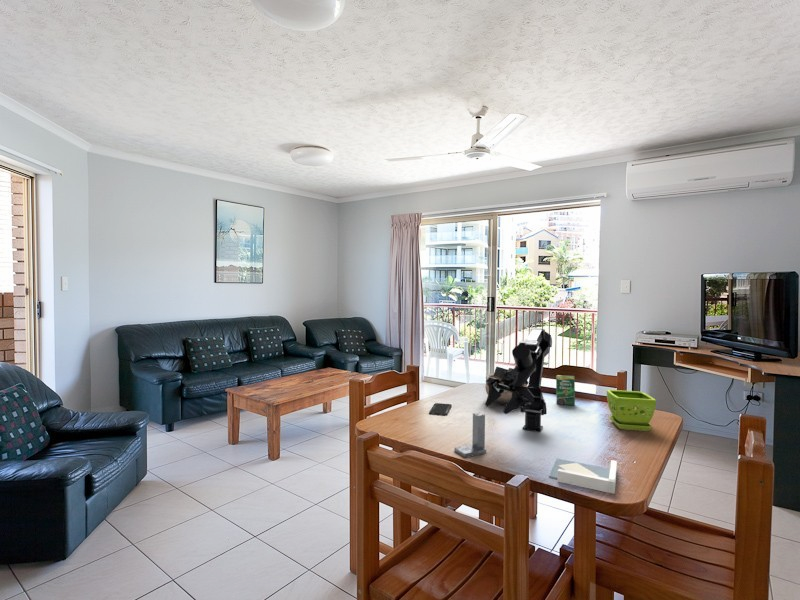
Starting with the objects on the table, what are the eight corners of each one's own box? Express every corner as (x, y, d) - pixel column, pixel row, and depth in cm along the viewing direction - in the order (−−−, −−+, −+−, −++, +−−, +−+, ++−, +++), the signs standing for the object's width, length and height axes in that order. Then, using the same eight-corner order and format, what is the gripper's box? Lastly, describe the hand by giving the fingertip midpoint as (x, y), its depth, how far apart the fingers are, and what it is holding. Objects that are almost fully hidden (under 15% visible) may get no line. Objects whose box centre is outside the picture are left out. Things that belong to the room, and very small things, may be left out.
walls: (565, 461, 129) (565, 451, 129) (616, 471, 122) (616, 461, 122) (557, 481, 115) (557, 470, 115) (614, 493, 109) (614, 482, 109)
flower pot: (656, 434, 154) (657, 399, 153) (615, 431, 156) (616, 397, 156) (642, 422, 167) (643, 390, 167) (604, 419, 170) (605, 388, 170)
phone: (452, 404, 189) (447, 413, 174) (452, 406, 189) (447, 416, 174) (434, 403, 191) (428, 412, 176) (434, 405, 191) (428, 414, 177)
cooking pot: (523, 413, 179) (524, 384, 178) (479, 407, 186) (479, 380, 186) (530, 398, 202) (531, 373, 201) (491, 394, 209) (491, 370, 209)
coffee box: (555, 404, 193) (556, 375, 192) (555, 402, 196) (556, 374, 195) (574, 405, 190) (575, 377, 190) (574, 404, 193) (574, 375, 192)
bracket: (476, 446, 140) (477, 411, 140) (487, 452, 135) (487, 415, 135) (454, 451, 136) (455, 414, 136) (464, 457, 131) (464, 419, 131)
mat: (556, 459, 130) (556, 458, 130) (610, 470, 123) (610, 468, 123) (549, 477, 118) (549, 475, 118) (608, 490, 111) (608, 488, 111)
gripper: (490, 354, 150) (464, 388, 145) (528, 362, 133) (500, 401, 129) (507, 374, 154) (482, 407, 149) (546, 385, 137) (519, 423, 132)
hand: (494, 409), depth 140 cm, fingers open, 9 cm apart
